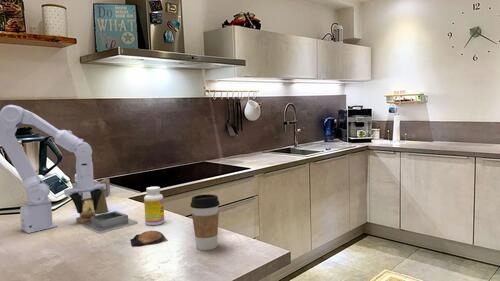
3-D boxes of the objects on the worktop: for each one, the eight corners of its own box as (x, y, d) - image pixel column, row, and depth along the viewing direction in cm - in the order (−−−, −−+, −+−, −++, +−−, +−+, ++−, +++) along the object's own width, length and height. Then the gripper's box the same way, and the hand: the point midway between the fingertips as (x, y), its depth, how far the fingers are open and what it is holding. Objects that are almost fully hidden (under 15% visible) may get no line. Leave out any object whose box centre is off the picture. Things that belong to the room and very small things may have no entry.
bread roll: (162, 235, 120) (162, 224, 120) (169, 243, 112) (168, 231, 112) (128, 241, 115) (128, 230, 115) (132, 250, 108) (132, 238, 107)
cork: (103, 209, 154) (101, 183, 154) (111, 211, 150) (109, 184, 150) (89, 212, 150) (87, 186, 149) (96, 214, 146) (94, 187, 145)
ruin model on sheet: (107, 198, 178) (106, 178, 177) (101, 198, 177) (99, 178, 176) (111, 193, 189) (110, 174, 188) (104, 193, 188) (103, 174, 187)
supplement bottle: (163, 225, 129) (161, 189, 128) (144, 226, 128) (142, 190, 127) (165, 219, 136) (163, 185, 135) (146, 221, 135) (144, 186, 134)
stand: (83, 224, 133) (83, 220, 133) (76, 221, 137) (76, 217, 137) (99, 220, 138) (99, 216, 137) (92, 217, 142) (92, 214, 142)
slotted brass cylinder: (83, 217, 134) (82, 201, 133) (77, 215, 137) (76, 199, 137) (97, 214, 137) (95, 198, 137) (91, 212, 141) (90, 196, 140)
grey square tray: (99, 233, 122) (99, 224, 122) (81, 225, 132) (81, 217, 132) (137, 223, 133) (137, 214, 132) (118, 216, 142) (117, 208, 142)
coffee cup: (196, 254, 101) (194, 200, 100) (189, 244, 109) (186, 194, 108) (225, 248, 105) (223, 196, 103) (216, 239, 112) (214, 191, 111)
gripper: (68, 179, 128) (71, 217, 129) (108, 173, 139) (110, 208, 140) (61, 177, 133) (63, 214, 134) (100, 171, 143) (102, 206, 144)
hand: (87, 211), depth 137 cm, fingers closed on slotted brass cylinder, 5 cm apart
